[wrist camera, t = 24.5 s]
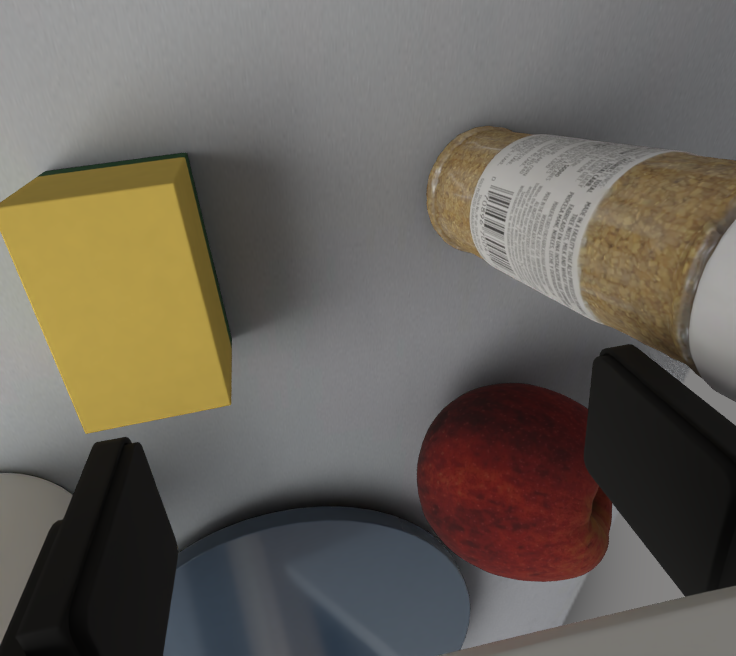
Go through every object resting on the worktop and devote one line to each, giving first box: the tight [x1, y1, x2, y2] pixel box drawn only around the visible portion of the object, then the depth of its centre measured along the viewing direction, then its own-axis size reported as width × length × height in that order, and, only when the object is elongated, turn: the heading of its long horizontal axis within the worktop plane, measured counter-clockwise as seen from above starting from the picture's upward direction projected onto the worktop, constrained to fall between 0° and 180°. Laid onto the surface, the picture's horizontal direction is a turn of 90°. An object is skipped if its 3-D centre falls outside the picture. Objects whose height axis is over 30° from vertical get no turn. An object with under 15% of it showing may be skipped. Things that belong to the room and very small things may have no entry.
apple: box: [417, 383, 612, 582], centre depth 23 cm, size 7×8×8 cm
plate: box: [163, 506, 470, 656], centre depth 29 cm, size 18×18×2 cm
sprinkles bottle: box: [426, 126, 736, 402], centre depth 15 cm, size 5×5×13 cm
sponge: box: [0, 153, 232, 434], centre depth 18 cm, size 7×4×4 cm, turn 6°
